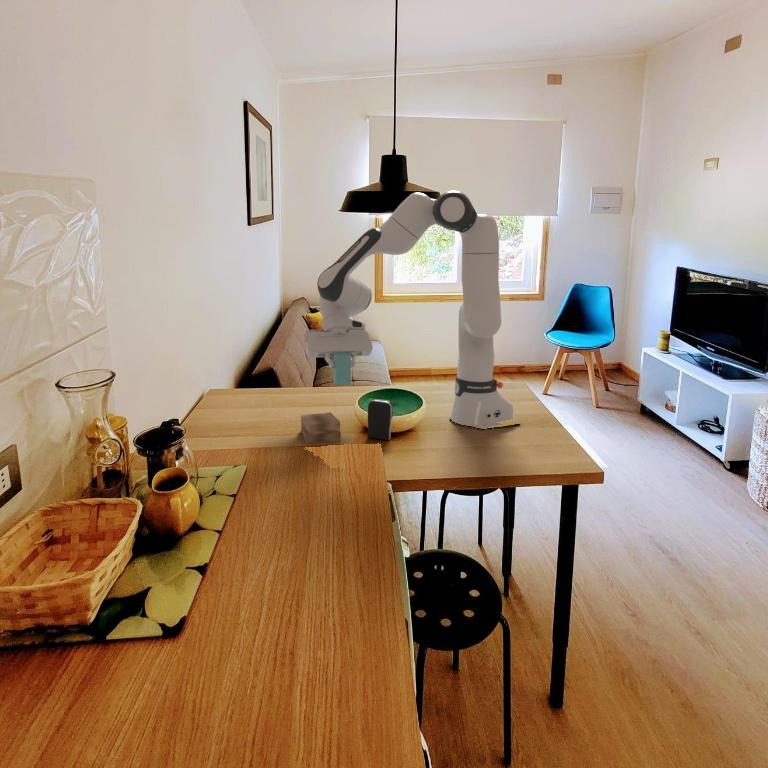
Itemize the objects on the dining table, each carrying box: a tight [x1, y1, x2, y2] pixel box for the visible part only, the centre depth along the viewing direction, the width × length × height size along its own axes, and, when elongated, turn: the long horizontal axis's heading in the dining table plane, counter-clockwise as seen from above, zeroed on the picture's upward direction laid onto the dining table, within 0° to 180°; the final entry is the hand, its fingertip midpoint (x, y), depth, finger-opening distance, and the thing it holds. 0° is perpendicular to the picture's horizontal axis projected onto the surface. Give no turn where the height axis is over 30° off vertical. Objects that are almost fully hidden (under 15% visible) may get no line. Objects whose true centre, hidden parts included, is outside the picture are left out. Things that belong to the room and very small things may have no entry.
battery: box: [367, 398, 394, 441], centre depth 175 cm, size 7×4×11 cm, turn 73°
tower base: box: [300, 424, 342, 444], centre depth 176 cm, size 10×10×3 cm
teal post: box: [332, 353, 352, 386], centre depth 184 cm, size 4×4×9 cm
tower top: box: [300, 412, 341, 435], centre depth 175 cm, size 9×9×3 cm
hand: (342, 367), depth 183 cm, fingers closed on teal post, 4 cm apart
